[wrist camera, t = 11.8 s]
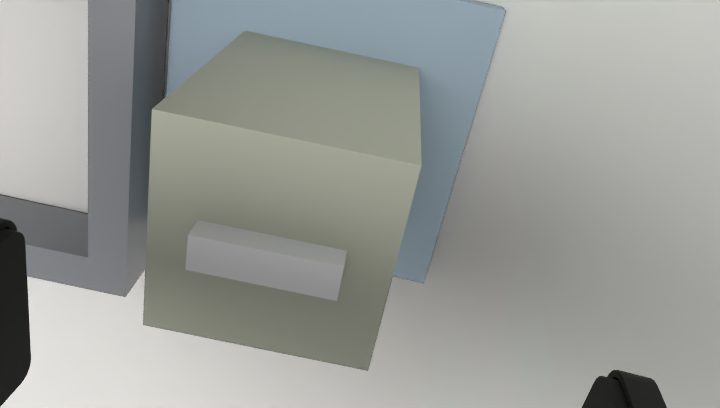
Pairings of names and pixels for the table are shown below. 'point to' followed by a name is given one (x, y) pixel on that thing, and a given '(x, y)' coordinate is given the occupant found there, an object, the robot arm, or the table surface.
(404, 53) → the pad
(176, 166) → the block
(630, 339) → the table surface
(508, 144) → the table surface
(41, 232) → the case
